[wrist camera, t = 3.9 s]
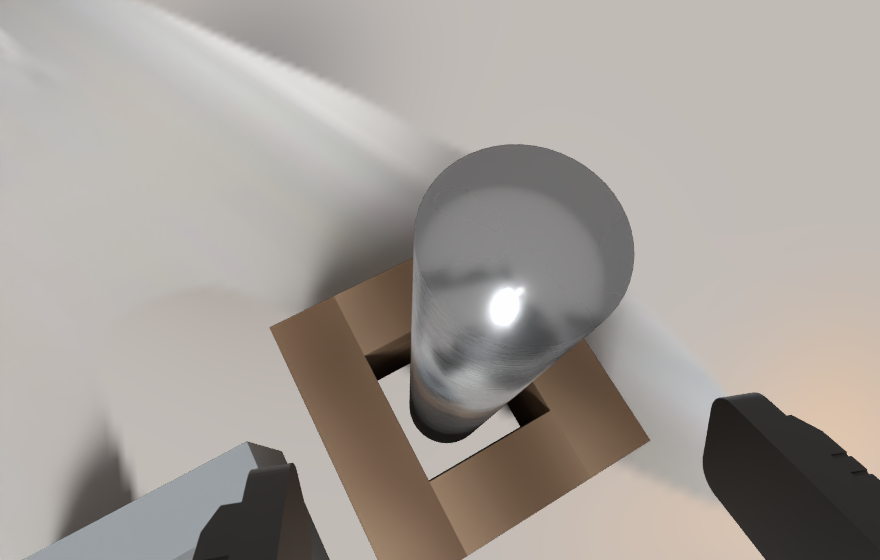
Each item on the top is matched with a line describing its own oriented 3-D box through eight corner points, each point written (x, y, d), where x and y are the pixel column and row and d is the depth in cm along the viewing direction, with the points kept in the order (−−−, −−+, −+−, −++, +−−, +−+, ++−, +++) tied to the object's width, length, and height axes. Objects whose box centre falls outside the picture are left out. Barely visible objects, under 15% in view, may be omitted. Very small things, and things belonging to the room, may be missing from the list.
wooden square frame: (399, 574, 20) (396, 600, 16) (297, 360, 23) (269, 327, 18) (599, 450, 22) (650, 440, 17) (484, 265, 25) (503, 213, 20)
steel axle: (431, 457, 22) (485, 390, 7) (396, 389, 23) (375, 196, 8) (496, 419, 22) (678, 281, 7) (460, 355, 23) (556, 114, 8)
